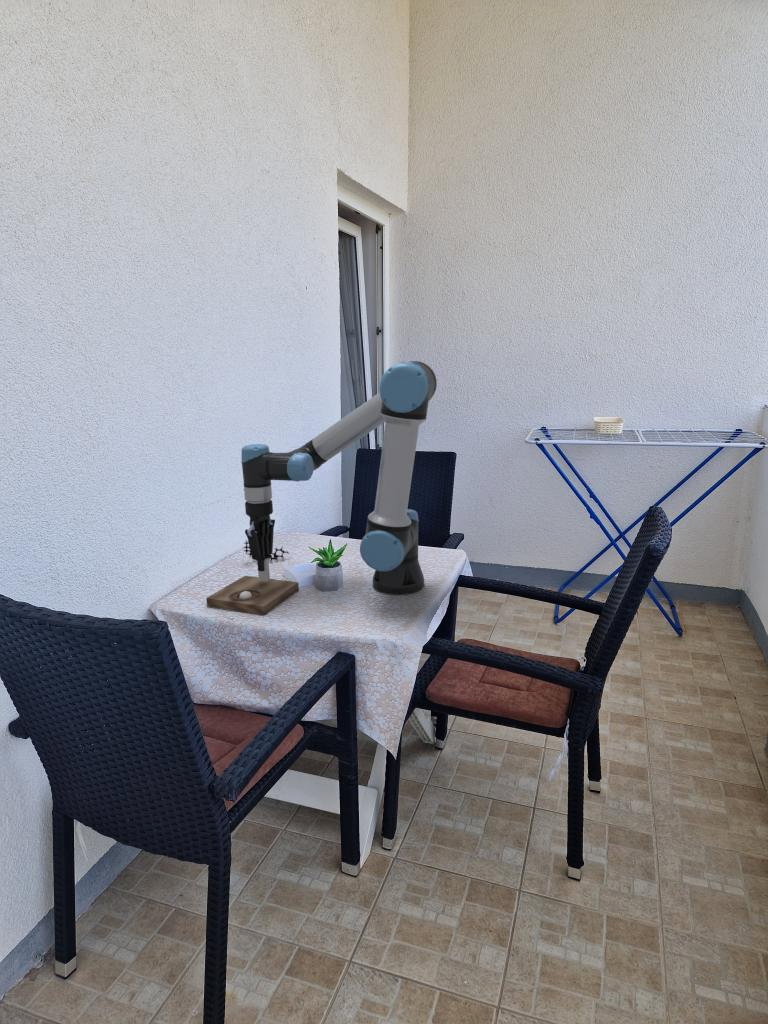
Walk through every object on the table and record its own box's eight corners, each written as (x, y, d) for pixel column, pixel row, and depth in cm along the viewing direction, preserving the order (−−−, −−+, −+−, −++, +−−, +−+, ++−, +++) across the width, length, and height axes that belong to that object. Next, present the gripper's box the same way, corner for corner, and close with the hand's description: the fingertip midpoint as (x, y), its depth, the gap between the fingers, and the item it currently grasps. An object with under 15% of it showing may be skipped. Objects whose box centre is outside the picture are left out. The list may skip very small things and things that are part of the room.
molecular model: (290, 561, 215) (289, 536, 213) (245, 567, 209) (243, 542, 207) (285, 556, 221) (284, 532, 219) (241, 562, 215) (239, 538, 213)
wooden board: (298, 590, 189) (298, 582, 188) (264, 615, 171) (263, 606, 171) (245, 583, 195) (244, 575, 194) (207, 606, 178) (206, 598, 177)
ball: (251, 607, 179) (255, 596, 181) (246, 600, 176) (251, 589, 178) (239, 605, 180) (244, 595, 182) (235, 598, 177) (240, 587, 180)
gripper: (258, 494, 188) (264, 571, 194) (234, 505, 176) (240, 587, 182) (281, 496, 186) (286, 574, 191) (258, 506, 174) (264, 589, 180)
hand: (264, 580), depth 187 cm, fingers closed
